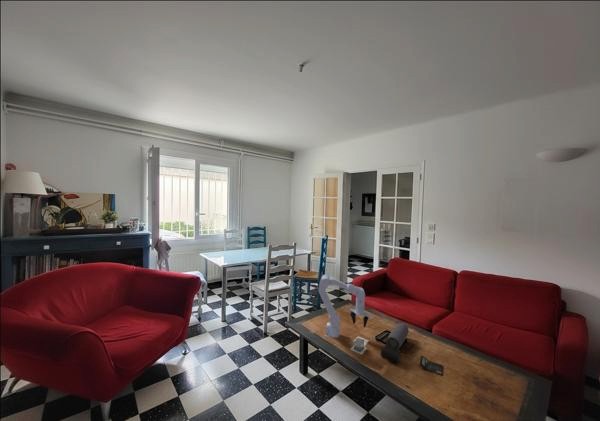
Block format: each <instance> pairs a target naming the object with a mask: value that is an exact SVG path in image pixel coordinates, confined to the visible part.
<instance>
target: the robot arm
mask: <svg viewBox="0 0 600 421" xmlns="http://www.w3.org/2000/svg"><path fill="white" fill-rule="evenodd" d="M329 286H330V287H332V286H337V287H339V288H341V289H345V292H347V293H349V294H352V295H354V296H356V297H355V308H350V309H349V313H350V317H351V319H352V320H351V321H352V323H353V324H354V325H355V323H357V322H356V321H357V320H356V317H357V316H362V317H363V318H362V320H363V328H366V327H367V323H368V321H369V319H370V318H371V314H370V313H367V312H366V311H365V298H366V292H365V290H364V288H363V287H361V286H360V287H359V286H356V285H354V284H353V283H345V282H343V281H341V280H339V279H338V278H335V277H333V276H331V275H328V274H323V275H322V276H321V278H320V280H319V285H318V290H317V291H318V293H319V296H320V298H321V300H322V303H323V305H324V307H325V309H326V311H327V315H328V318H329V322H327V323H326V325H325V336H324V337H326V338H330V337H331V338H334V339H337V338H339V337H340V334H341V324H340V323H341V322H340V315H339V313H337V311H336V309H335V308H334V306H333V303H332V301H331V299H330V297H329V295H328V292H327V288H329Z"/></svg>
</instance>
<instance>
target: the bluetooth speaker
mask: <svg viewBox="0 0 600 421" xmlns="http://www.w3.org/2000/svg"><path fill="white" fill-rule="evenodd" d="M408 335H409V326H407V325H406V324H405V323H403V322H400V323H397V325H396V326H395V327H394V328H393V329H392V330H391V332H390V333H389V334H388V337H387V339H386V345H388V346H390V349H391V350H394V349H395V348H396V349H399V350H400V348H401V347H402V345H403V344H404V342H405V340H406V339H407V336H408Z"/></svg>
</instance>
